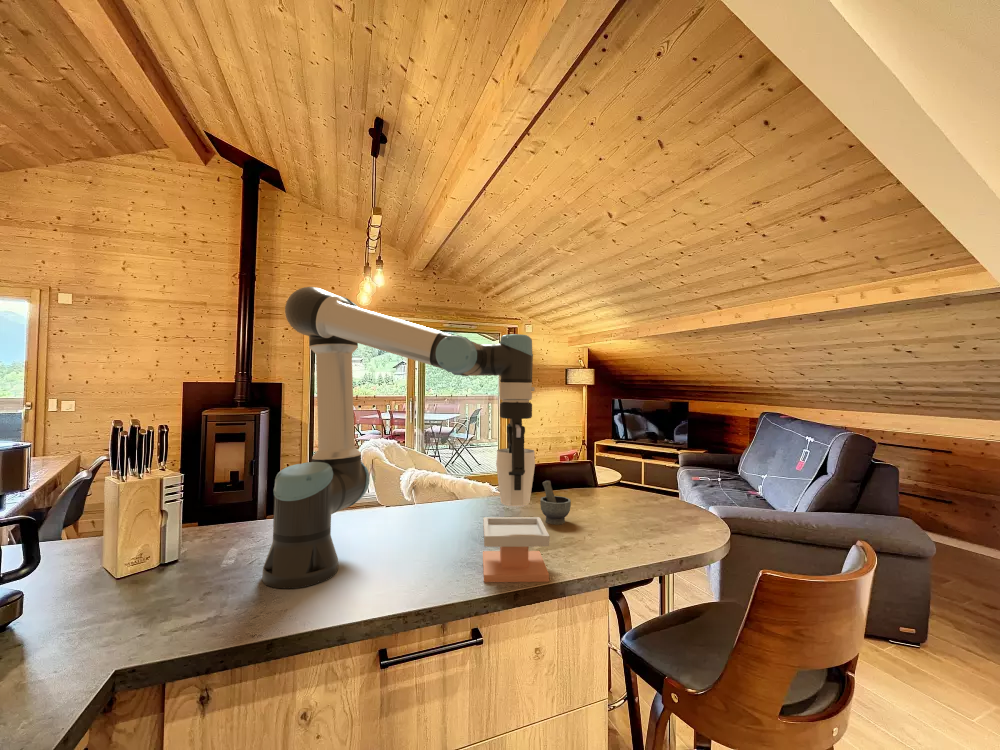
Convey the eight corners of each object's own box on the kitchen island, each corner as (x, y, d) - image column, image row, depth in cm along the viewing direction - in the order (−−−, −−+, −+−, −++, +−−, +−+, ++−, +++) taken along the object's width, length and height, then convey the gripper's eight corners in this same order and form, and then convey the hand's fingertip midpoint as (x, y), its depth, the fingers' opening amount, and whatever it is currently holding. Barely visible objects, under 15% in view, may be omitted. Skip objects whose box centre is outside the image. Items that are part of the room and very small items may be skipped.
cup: (532, 509, 97) (532, 454, 97) (491, 506, 98) (492, 452, 99) (536, 499, 105) (537, 449, 106) (500, 497, 107) (500, 447, 108)
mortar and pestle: (577, 523, 136) (577, 484, 137) (552, 528, 132) (552, 487, 132) (555, 514, 146) (556, 478, 147) (531, 518, 142) (532, 480, 142)
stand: (483, 582, 94) (484, 536, 94) (482, 557, 108) (483, 517, 108) (548, 581, 95) (549, 536, 95) (539, 557, 109) (539, 517, 109)
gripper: (538, 402, 92) (537, 511, 91) (526, 400, 114) (525, 488, 113) (502, 402, 92) (501, 511, 91) (497, 400, 113) (496, 488, 112)
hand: (515, 499), depth 102 cm, fingers closed on cup, 9 cm apart
